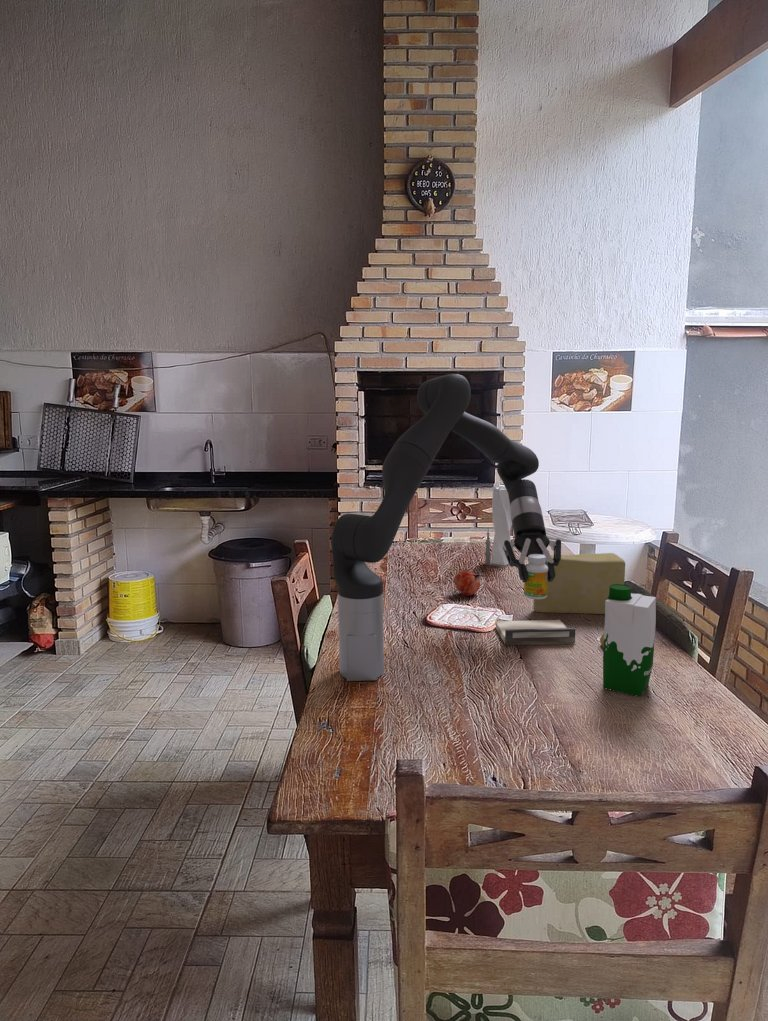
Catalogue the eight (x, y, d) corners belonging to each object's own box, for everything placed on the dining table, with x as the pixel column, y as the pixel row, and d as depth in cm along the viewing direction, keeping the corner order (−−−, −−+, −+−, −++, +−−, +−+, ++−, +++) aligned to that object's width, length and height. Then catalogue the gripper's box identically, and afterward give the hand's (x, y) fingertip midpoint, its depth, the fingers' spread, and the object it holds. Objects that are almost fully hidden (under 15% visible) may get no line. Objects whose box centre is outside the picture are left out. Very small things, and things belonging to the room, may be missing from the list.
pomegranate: (452, 604, 195) (477, 588, 189) (440, 581, 197) (465, 565, 191) (466, 601, 200) (491, 585, 195) (455, 578, 202) (479, 562, 197)
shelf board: (575, 644, 158) (575, 629, 158) (506, 645, 158) (506, 631, 157) (559, 625, 170) (560, 612, 170) (495, 627, 170) (495, 613, 169)
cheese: (537, 617, 177) (539, 560, 174) (529, 605, 186) (531, 551, 184) (624, 616, 177) (627, 559, 174) (611, 604, 186) (614, 550, 184)
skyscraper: (495, 559, 236) (497, 478, 231) (517, 563, 231) (519, 480, 226) (483, 564, 229) (485, 481, 224) (506, 568, 225) (508, 483, 220)
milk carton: (608, 673, 142) (613, 579, 139) (655, 683, 137) (661, 586, 134) (597, 689, 135) (601, 590, 131) (645, 700, 130) (652, 598, 127)
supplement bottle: (521, 598, 160) (522, 557, 158) (526, 591, 165) (527, 552, 163) (545, 600, 158) (546, 559, 156) (549, 594, 163) (550, 554, 161)
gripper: (500, 511, 165) (510, 573, 156) (559, 510, 166) (573, 572, 156) (495, 528, 171) (504, 588, 162) (552, 527, 172) (565, 587, 162)
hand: (538, 580), depth 159 cm, fingers closed on supplement bottle, 5 cm apart
